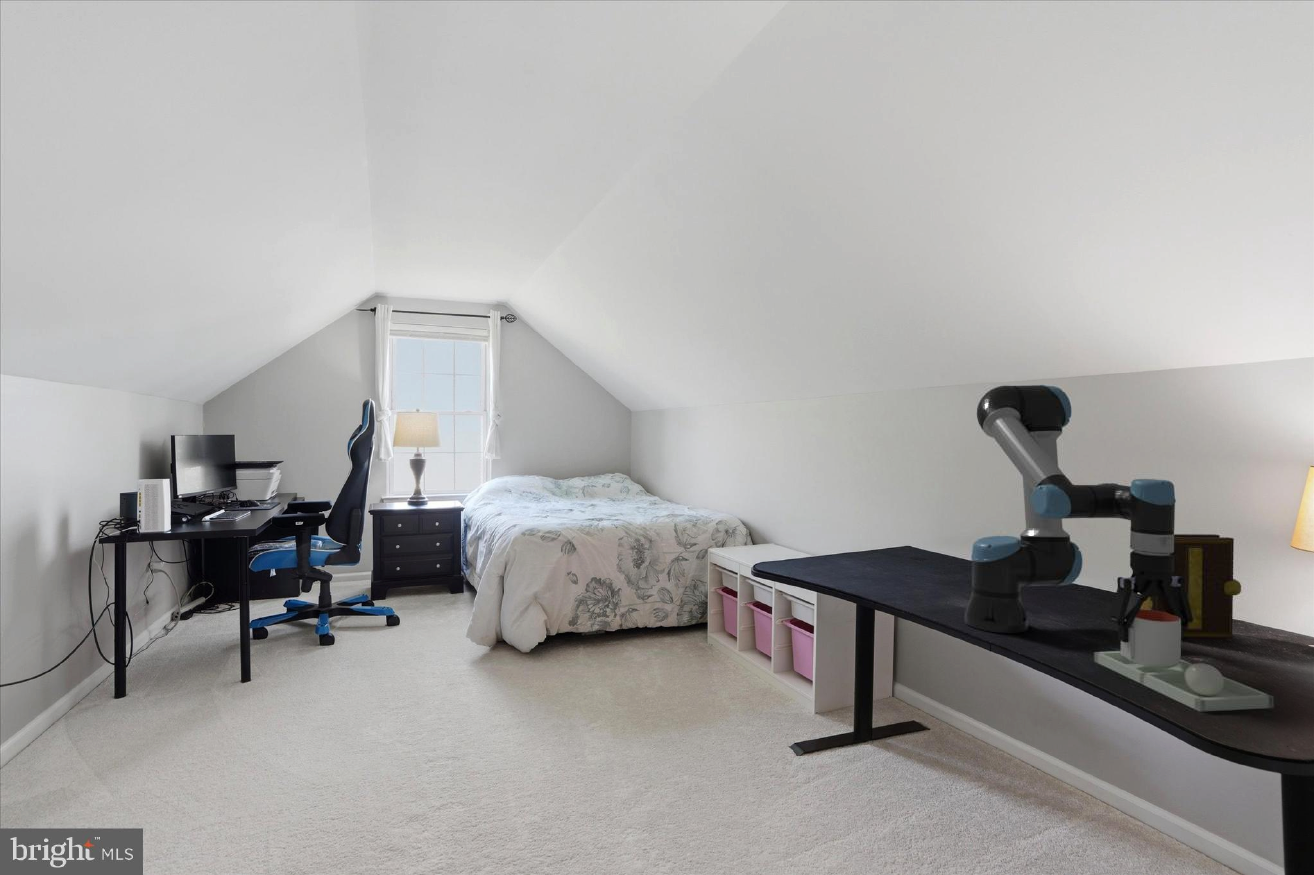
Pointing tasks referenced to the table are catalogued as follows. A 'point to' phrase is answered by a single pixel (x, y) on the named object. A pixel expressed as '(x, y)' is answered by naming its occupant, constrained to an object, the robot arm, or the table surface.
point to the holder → (1177, 688)
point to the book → (1204, 583)
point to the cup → (1156, 639)
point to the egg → (1204, 679)
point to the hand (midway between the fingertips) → (1150, 655)
